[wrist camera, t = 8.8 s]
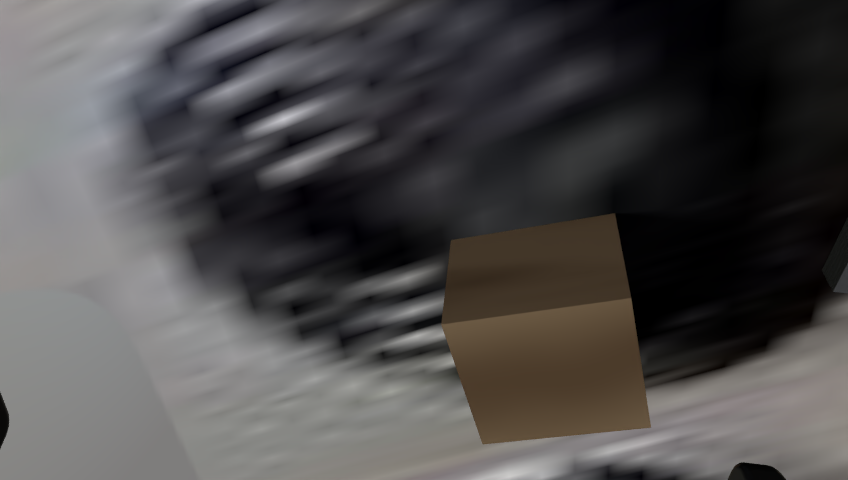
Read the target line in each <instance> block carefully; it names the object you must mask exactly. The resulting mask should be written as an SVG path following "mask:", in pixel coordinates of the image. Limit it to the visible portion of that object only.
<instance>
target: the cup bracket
mask: <svg viewBox="0 0 848 480" xmlns="http://www.w3.org/2000/svg"><path fill="white" fill-rule="evenodd" d="M822 271H823V273H824V275H825V277H826V279H827V281H828V283H829V285H830V287H831V288H832V290H833V292H841V293H848V218H847V220H846V222H845V224H844V226H843V228H842V230H841V232H840V234H839V236H838V238H837V240H836V243H835V245H834V247H833V249H832V251H831V253H830V255H829V257H828V259H827V261H826V263H825V265H824V267H823V269H822Z"/></svg>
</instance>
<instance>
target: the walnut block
mask: <svg viewBox="0 0 848 480" xmlns="http://www.w3.org/2000/svg"><path fill="white" fill-rule="evenodd" d="M441 325H442V328H443V330H444V333H445V336H446V339H447V342H448V345H449V348H450V351H451V354H452V357H453V360H454V362H455V365H456V368H457V371H458V374H459V377H460V380H461V383H462V386H463V389H464V391H465V394H466V397H467V400H468V403H469V406H470V409H471V412H472V415H473V418H474V421H475V423H476V426H477V429H478V432H479V435H480V438H481V441H482V444H490V443H500V442H510V441H521V440H531V439H541V438H551V437H561V436H571V435H581V434H591V433H601V432H611V431H621V430H631V429H641V428H651V425H650V418H649V412H648V405H647V399H646V392H645V385H644V379H643V372H642V366H641V359H640V352H639V346H638V339H637V333H636V326H635V320H634V313H633V306H632V300H631V294H630V289H629V284H628V279H627V274H626V268H625V263H624V258H623V253H622V248H621V243H620V237H619V232H618V227H617V222H616V217H615V213H614V214H608V215H602V216H596V217H590V218H584V219H578V220H572V221H566V222H560V223H553V224H547V225H541V226H535V227H529V228H523V229H517V230H511V231H505V232H499V233H493V234H487V235H481V236H475V237H468V238H462V239H456V240H451V246H450V255H449V263H448V272H447V281H446V289H445V298H444V307H443V315H442V324H441Z"/></svg>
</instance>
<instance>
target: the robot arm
mask: <svg viewBox="0 0 848 480" xmlns="http://www.w3.org/2000/svg"><path fill="white" fill-rule="evenodd" d="M8 427H9V414H8V411H7V408H6V406H5V403H4V400H3V398H2V395H1V393H0V448H1V446H2V444H3V441H4V439H5V437H6V434H7V431H8ZM728 480H786V479H785V478H784V476H783V475H782V474H781V473H780V472H779V471H778V470H776V469H775V468H773V467H771V466H768V465H760V464H752V463H739V464H737V465H736V466H735V467H734V468H733V470H732V472H731V474H730V476H729V478H728Z"/></svg>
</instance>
